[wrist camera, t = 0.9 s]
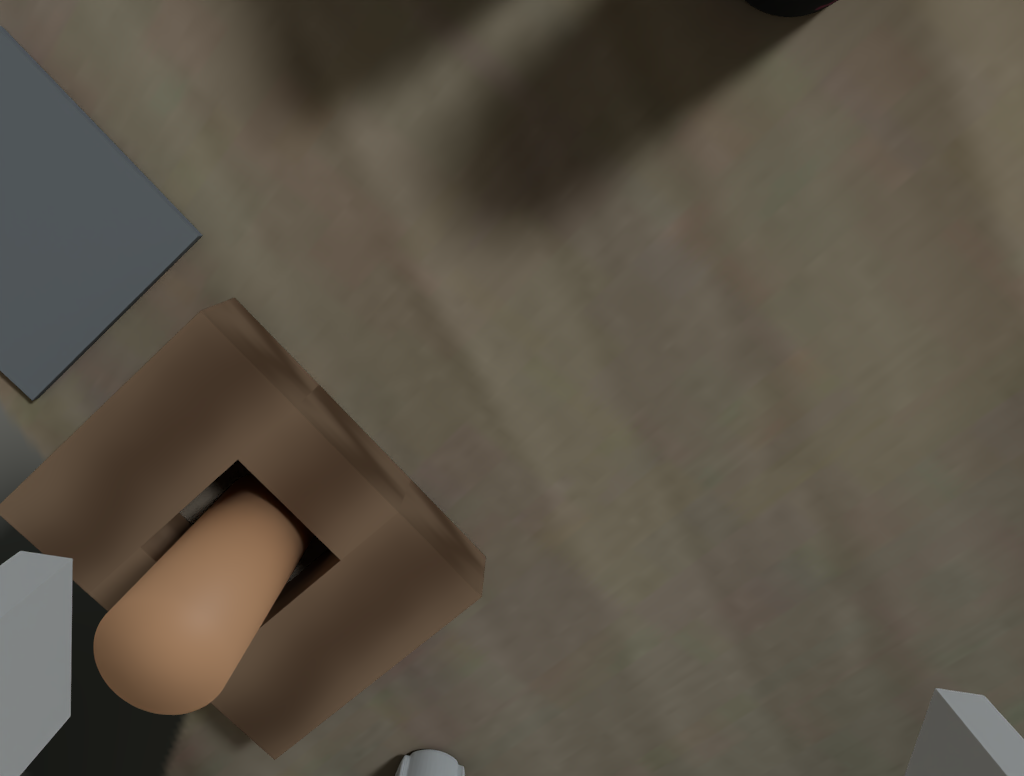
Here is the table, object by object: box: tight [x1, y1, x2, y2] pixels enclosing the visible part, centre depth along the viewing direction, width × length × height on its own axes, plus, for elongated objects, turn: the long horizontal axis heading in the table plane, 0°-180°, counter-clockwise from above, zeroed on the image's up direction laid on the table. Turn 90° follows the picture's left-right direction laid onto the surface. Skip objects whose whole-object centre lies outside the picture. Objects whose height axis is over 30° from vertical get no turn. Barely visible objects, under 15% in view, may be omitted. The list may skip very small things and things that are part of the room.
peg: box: [94, 474, 314, 715], centre depth 34 cm, size 5×5×12 cm
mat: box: [0, 26, 203, 401], centre depth 35 cm, size 12×12×1 cm
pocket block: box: [0, 298, 486, 760], centre depth 37 cm, size 18×14×4 cm
